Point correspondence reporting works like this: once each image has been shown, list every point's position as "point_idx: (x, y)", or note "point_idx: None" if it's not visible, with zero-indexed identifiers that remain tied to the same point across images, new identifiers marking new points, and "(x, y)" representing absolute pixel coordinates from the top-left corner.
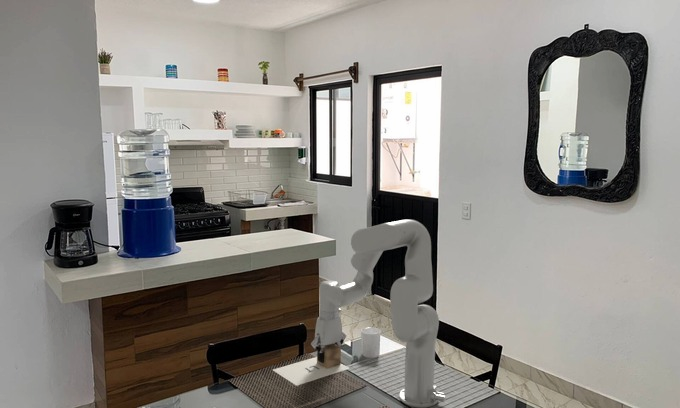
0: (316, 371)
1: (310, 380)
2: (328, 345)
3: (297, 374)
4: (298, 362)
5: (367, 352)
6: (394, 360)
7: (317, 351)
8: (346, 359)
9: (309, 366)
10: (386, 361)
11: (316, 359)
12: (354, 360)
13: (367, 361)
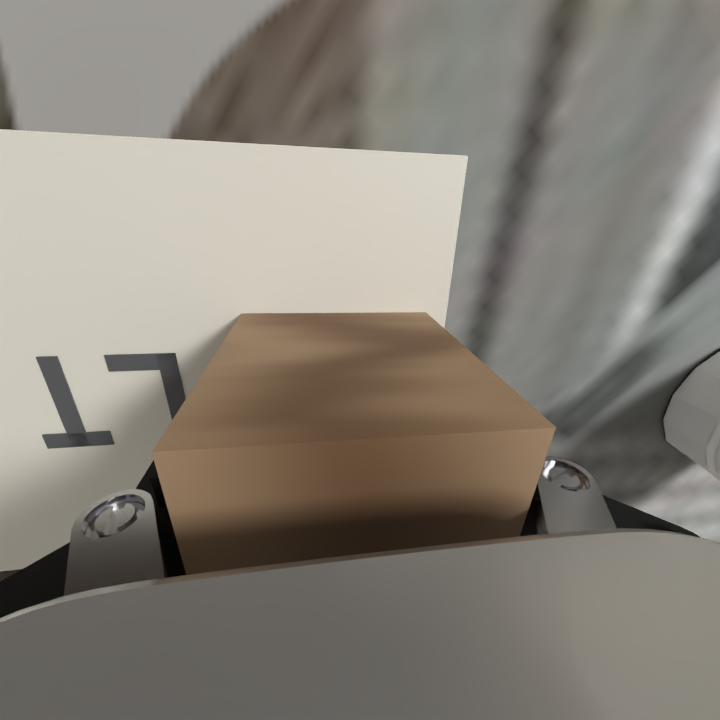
0: (137, 465)
1: (9, 562)
2: (375, 549)
3: None
4: (1, 142)
5: (706, 457)
6: (702, 526)
7: (202, 387)
8: (542, 369)
9: (115, 340)
10: (666, 518)
11: (292, 224)
12: (564, 416)
13: (603, 471)
